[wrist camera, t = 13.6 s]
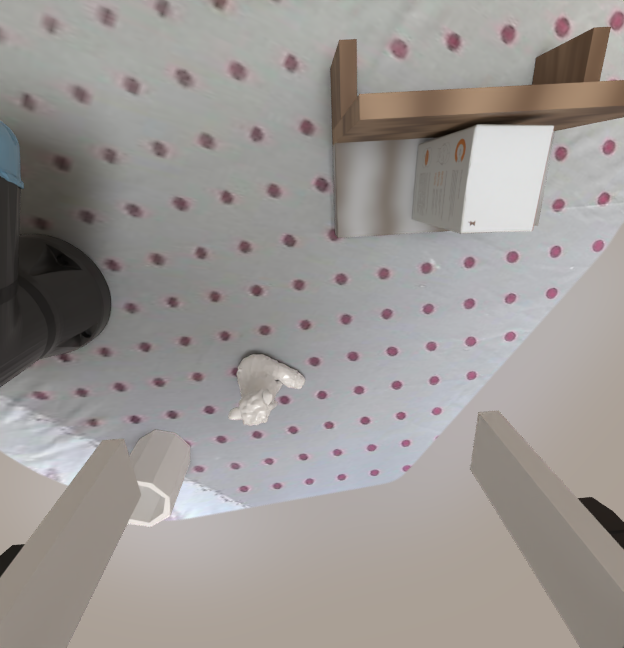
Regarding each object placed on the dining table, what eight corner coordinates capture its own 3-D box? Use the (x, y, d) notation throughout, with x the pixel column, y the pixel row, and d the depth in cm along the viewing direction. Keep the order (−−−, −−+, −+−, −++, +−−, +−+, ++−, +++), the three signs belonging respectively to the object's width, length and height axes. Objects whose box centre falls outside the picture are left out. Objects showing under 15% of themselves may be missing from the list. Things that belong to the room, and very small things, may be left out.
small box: (464, 219, 42) (533, 234, 29) (410, 220, 41) (459, 235, 29) (474, 142, 39) (557, 123, 26) (417, 142, 38) (474, 123, 26)
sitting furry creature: (255, 410, 54) (245, 470, 43) (219, 369, 51) (197, 422, 40) (307, 378, 52) (310, 431, 41) (272, 334, 49) (265, 379, 38)
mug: (150, 421, 53) (121, 470, 44) (202, 445, 56) (183, 497, 46) (117, 473, 57) (84, 528, 48) (167, 494, 59) (144, 551, 50)
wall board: (335, 234, 44) (360, 265, 28) (330, 68, 38) (358, -23, 21) (522, 222, 45) (657, 246, 28) (549, 57, 39) (745, -40, 22)
